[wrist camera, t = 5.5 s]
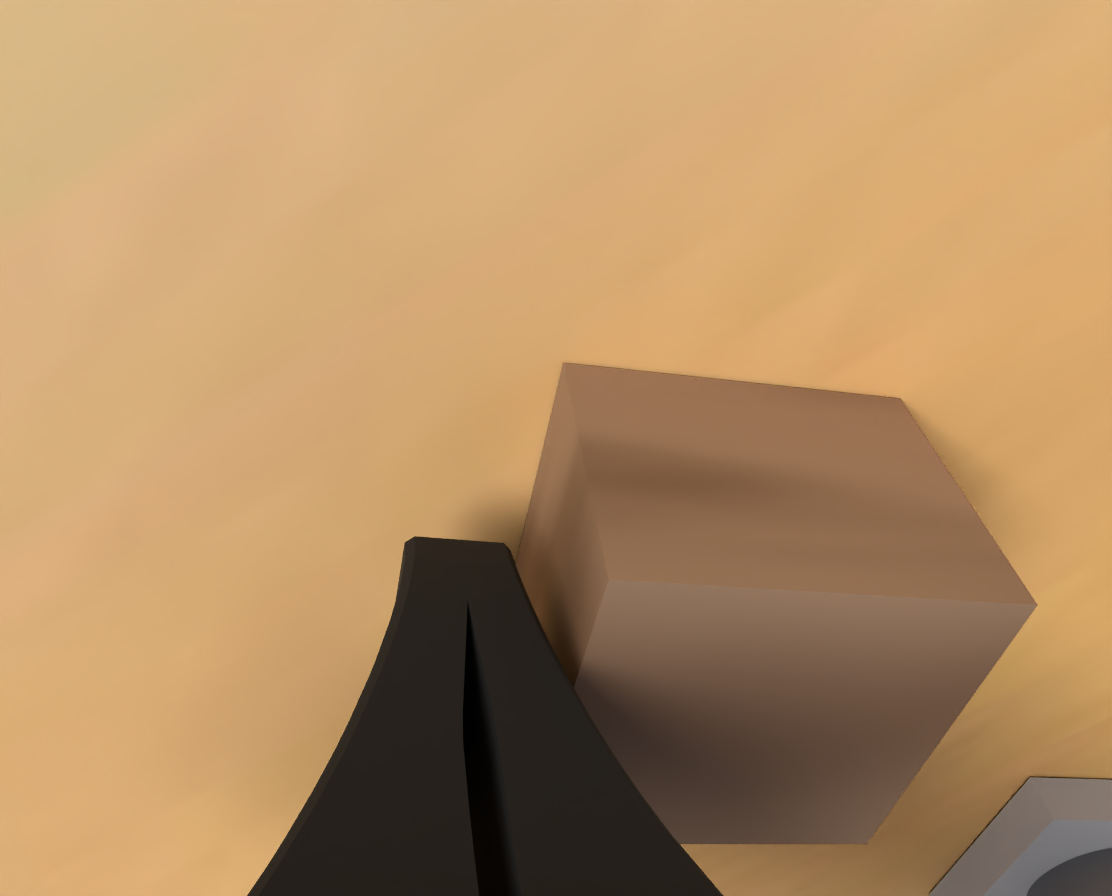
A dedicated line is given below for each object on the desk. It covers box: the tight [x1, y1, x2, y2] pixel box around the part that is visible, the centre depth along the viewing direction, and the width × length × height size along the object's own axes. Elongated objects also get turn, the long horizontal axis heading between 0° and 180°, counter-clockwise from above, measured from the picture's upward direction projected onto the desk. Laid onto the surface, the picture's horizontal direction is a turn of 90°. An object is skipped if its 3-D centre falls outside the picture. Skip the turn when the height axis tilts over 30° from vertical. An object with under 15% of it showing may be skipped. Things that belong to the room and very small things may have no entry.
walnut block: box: [515, 363, 1037, 844], centre depth 13 cm, size 5×5×4 cm
